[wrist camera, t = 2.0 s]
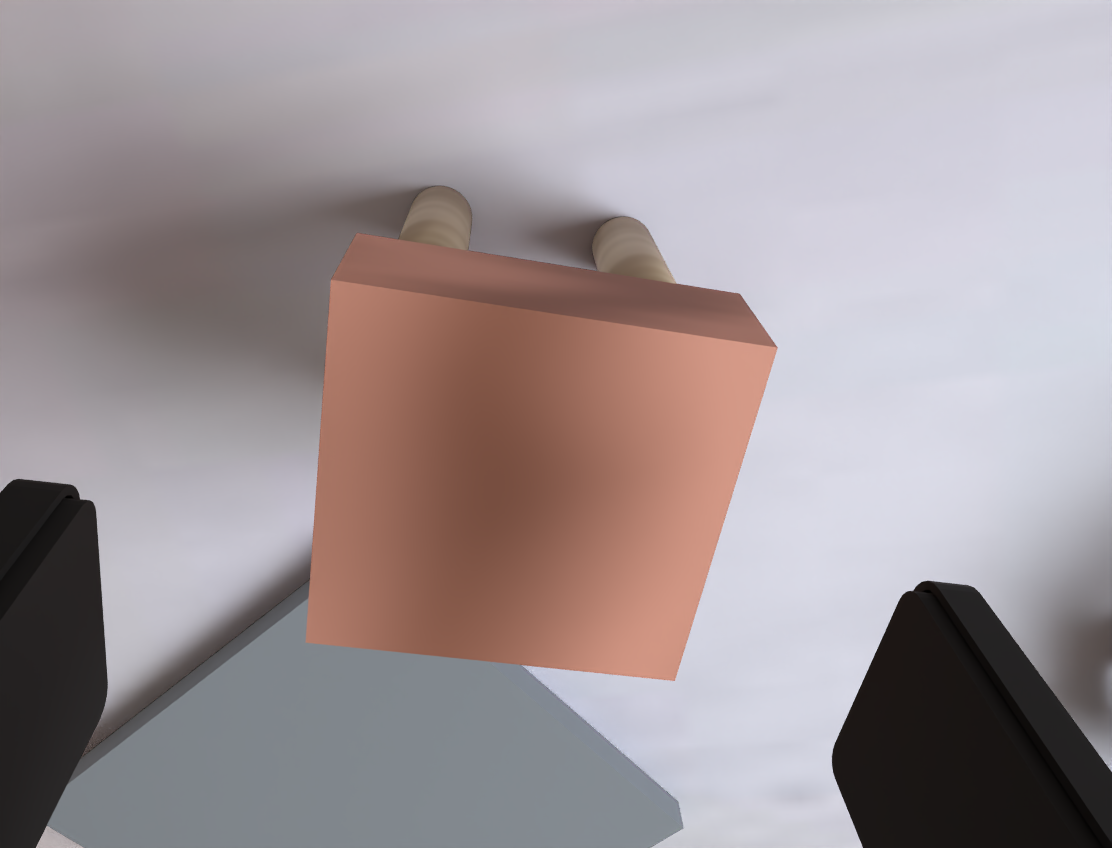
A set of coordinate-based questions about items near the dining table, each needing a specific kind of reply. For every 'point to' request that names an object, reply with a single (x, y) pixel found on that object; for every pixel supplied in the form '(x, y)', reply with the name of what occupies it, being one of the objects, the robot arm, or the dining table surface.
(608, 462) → the stool
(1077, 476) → the dining table surface
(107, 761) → the slate mat
